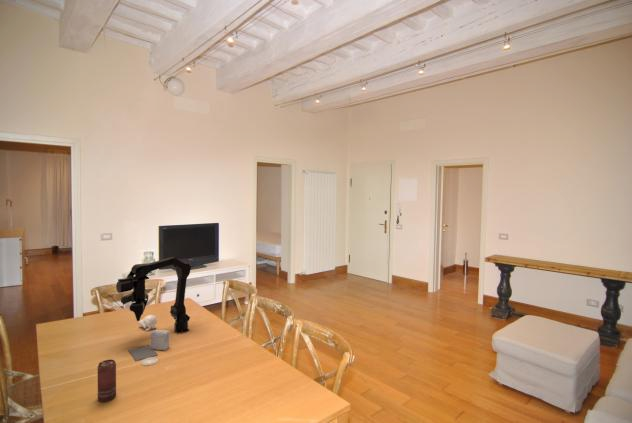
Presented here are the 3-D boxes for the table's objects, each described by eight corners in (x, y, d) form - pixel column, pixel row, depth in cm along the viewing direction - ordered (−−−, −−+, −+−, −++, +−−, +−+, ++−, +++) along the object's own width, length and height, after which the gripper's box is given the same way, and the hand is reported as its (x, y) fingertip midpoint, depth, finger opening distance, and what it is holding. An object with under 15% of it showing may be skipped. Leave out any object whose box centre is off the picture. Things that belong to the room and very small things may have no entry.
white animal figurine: (148, 317, 199) (134, 315, 204) (149, 332, 199) (135, 329, 204) (157, 314, 204) (144, 312, 210) (158, 328, 204) (145, 326, 210)
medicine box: (169, 347, 181) (170, 330, 181) (164, 350, 176) (165, 333, 176) (154, 345, 182) (155, 329, 181) (149, 349, 177) (150, 332, 177)
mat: (149, 345, 182) (149, 344, 182) (157, 355, 172) (157, 354, 172) (128, 350, 176) (128, 350, 176) (135, 361, 165) (135, 360, 165)
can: (102, 393, 139) (102, 359, 138) (118, 393, 139) (118, 358, 138) (93, 402, 133) (93, 366, 132) (111, 402, 133) (111, 366, 132)
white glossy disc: (155, 358, 170) (155, 355, 170) (159, 363, 164) (159, 361, 164) (139, 362, 165) (139, 359, 165) (143, 368, 160) (143, 365, 160)
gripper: (126, 285, 189) (126, 313, 190) (117, 295, 172) (118, 326, 173) (148, 283, 193) (149, 311, 194) (142, 293, 175) (143, 323, 176)
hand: (139, 317), depth 184 cm, fingers open, 9 cm apart
